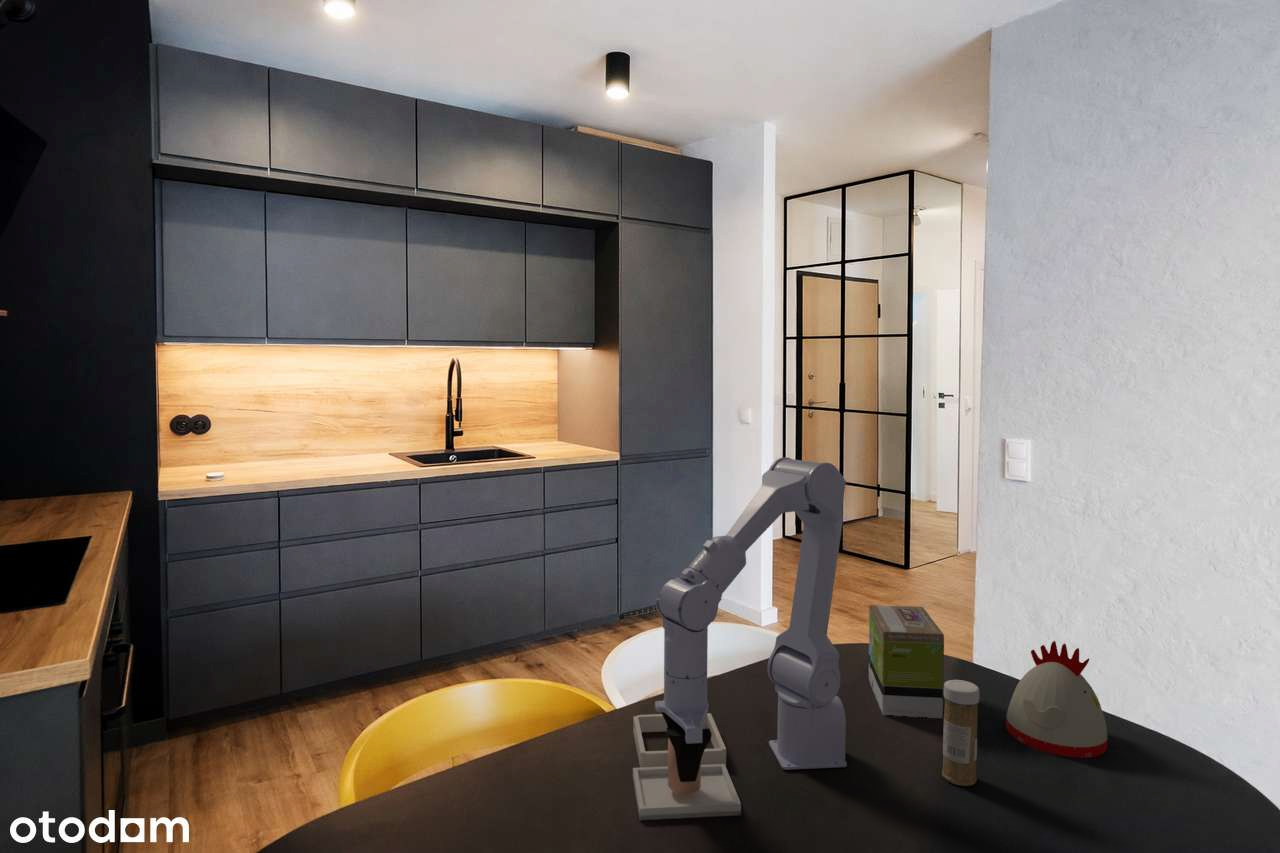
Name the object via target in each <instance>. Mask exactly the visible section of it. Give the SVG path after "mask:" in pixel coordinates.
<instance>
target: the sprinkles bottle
mask: <svg viewBox="0 0 1280 853" xmlns="http://www.w3.org/2000/svg"><path fill="white" fill-rule="evenodd" d="M943 700H944V708H943V711H944V713H943V736H942V754H943V755H942V756H943V757H942V758H943V760H942V770H941V776H942V777H943V778H944V780H946V781H947V782H949V783H951V784H953V785H957V786H962V787H969V786H974V785H975V784H976V782H977V779H978V777H977V760H978V758H977V757H978V737H977V736H978V708H979V707H978V705H979V702H980V689H979V687H978V685H976V684H974V683H973V682H970V681H968V680H960V679H949V680H946V681H945V682H943Z"/></svg>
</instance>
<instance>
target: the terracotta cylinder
mask: <svg viewBox="0 0 1280 853" xmlns="http://www.w3.org/2000/svg"><path fill="white" fill-rule="evenodd" d="M667 740H668V741H667V750H668V787H669V788H670V789H671V790H672V791H674V792H677V793H682V794H689V793H693V792H696V791H698V790H699V789H700V787H701V763H700V767H699V771H698V775H697V779H696V781H695V782H680V779H679V775H678V771H677V764H676V756H675V751H674V747H673V745H672V743H671V741H670V739H669V738H668V739H667Z"/></svg>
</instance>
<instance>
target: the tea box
mask: <svg viewBox="0 0 1280 853" xmlns="http://www.w3.org/2000/svg"><path fill="white" fill-rule="evenodd" d="M868 609H869V610H868V612H869V613H868V622H869V623H868V680H869V683H870V687H871V690H872V691H873V694H874V696H875V697H874V698H875V700H876V702H877V705H878V707H879V710H880V711H881V712H880V713H881V714H882V716H887V715H894V716H893V717H901V716H907V717H906V718H918V717H920V718H921V717H924V718H923V719H942V718H943V716H944V713H943V711H944V667H945V666H944V665H945V664H944V659H945V658H944V657H945V656H944V654H945V634H944V632H942V630H941V629H940V627H939V626H938V625H937V623H936V622H935V621H934V620H933V618H932V617H931V616H930V614H929V613H928V612H927V610H925V608H924V607H923V606H909V605H908V606H907V605H906V606H905V605H904V606H903V605H902V606H901V605H874V604H873V605H871V604H869V607H868ZM925 717H927V718H925ZM920 718H919V719H920ZM921 719H922V718H921Z"/></svg>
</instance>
